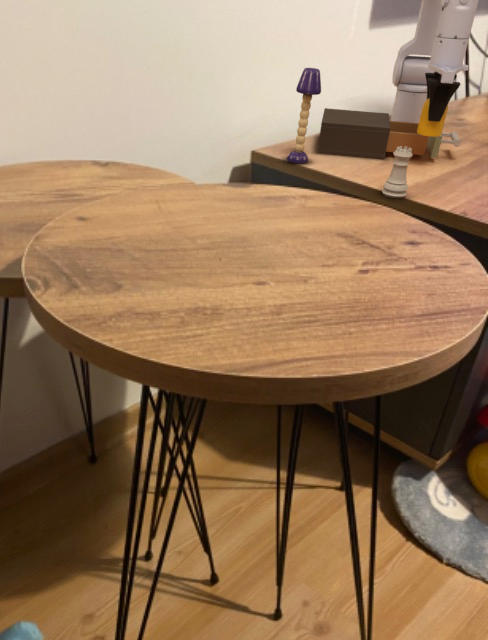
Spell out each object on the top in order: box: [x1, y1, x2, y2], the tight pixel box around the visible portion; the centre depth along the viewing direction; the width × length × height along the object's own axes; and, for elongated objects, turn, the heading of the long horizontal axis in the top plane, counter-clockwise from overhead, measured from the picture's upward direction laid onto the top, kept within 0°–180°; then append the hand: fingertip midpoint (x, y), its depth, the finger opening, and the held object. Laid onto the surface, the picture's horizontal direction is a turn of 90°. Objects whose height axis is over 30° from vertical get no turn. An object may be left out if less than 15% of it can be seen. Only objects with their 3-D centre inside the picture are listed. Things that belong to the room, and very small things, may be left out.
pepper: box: [417, 98, 449, 137], centre depth 124 cm, size 5×5×7 cm
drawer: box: [386, 120, 462, 160], centre depth 136 cm, size 17×11×4 cm
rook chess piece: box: [381, 146, 414, 199], centre depth 114 cm, size 4×4×8 cm
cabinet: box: [316, 107, 391, 160], centre depth 138 cm, size 14×13×6 cm
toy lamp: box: [286, 67, 322, 165], centre depth 126 cm, size 5×5×17 cm
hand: (432, 117), depth 124 cm, fingers closed on pepper, 4 cm apart
